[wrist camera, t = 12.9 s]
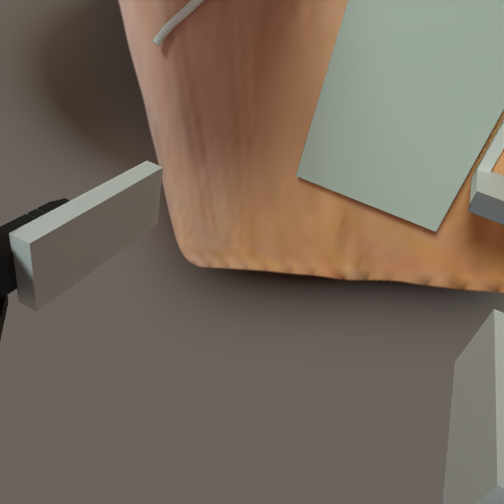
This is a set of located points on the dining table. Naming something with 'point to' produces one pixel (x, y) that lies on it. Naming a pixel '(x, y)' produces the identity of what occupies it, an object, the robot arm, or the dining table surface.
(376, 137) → the plate
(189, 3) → the tall slanted-top box
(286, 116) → the dining table surface
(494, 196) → the rack
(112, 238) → the robot arm
